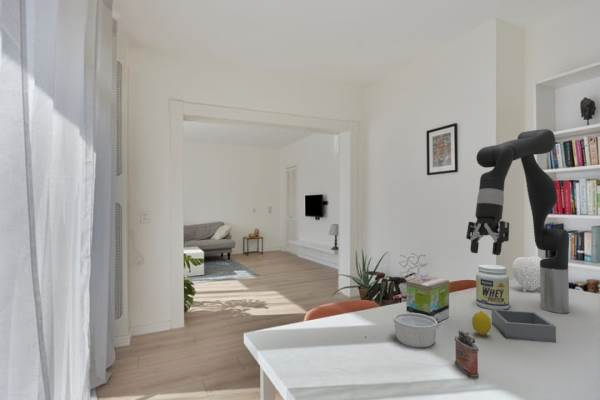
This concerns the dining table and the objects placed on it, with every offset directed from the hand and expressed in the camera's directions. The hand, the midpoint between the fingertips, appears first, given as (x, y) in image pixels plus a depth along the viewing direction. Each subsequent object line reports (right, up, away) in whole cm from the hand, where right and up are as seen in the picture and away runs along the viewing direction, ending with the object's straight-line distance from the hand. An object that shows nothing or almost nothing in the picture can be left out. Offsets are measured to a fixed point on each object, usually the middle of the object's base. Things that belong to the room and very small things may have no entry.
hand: (484, 253), depth 104 cm
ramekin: (-22, -28, +1) cm, 36 cm away
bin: (+17, -28, +7) cm, 33 cm away
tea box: (-10, -28, +21) cm, 36 cm away
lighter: (-15, -28, -18) cm, 37 cm away
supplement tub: (+23, -28, +35) cm, 51 cm away
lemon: (+2, -28, +4) cm, 29 cm away
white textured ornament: (+56, -28, +59) cm, 86 cm away
